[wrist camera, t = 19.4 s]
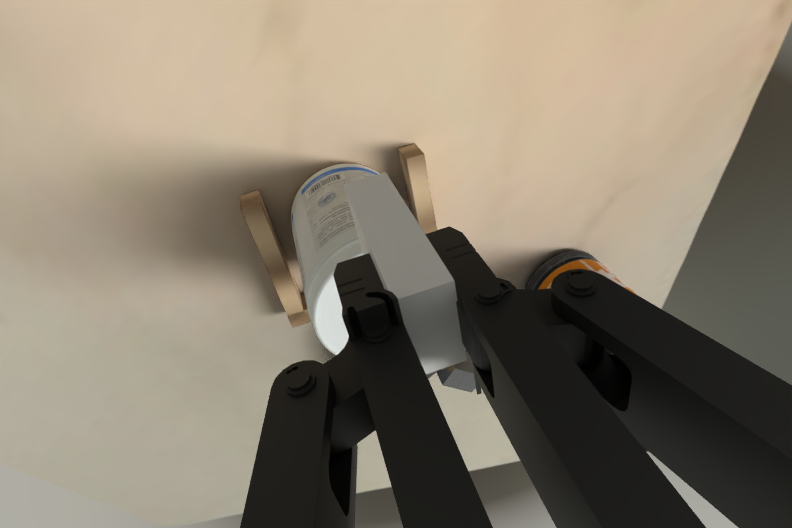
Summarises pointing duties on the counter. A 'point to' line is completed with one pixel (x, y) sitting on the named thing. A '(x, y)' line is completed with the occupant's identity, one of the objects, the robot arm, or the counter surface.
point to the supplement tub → (326, 245)
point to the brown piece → (274, 253)
